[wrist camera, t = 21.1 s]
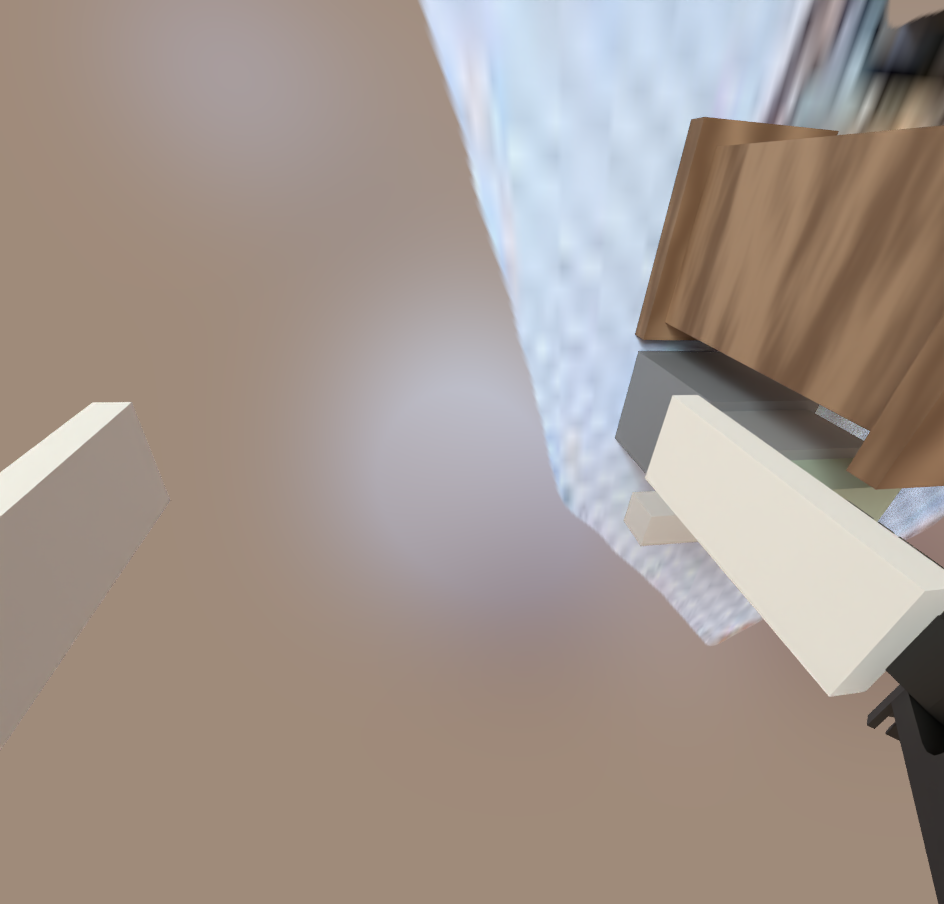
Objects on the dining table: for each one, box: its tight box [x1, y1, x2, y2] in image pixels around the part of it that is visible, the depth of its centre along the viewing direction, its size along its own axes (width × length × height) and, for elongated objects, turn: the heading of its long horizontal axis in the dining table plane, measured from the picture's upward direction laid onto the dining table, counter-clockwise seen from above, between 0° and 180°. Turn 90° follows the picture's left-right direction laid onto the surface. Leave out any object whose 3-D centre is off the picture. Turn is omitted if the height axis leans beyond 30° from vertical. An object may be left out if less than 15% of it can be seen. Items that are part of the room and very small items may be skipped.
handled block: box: [624, 458, 902, 546], centre depth 36 cm, size 20×8×4 cm, turn 86°
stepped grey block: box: [615, 351, 864, 473], centre depth 47 cm, size 12×12×21 cm
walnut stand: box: [635, 117, 944, 490], centre depth 34 cm, size 14×20×30 cm
